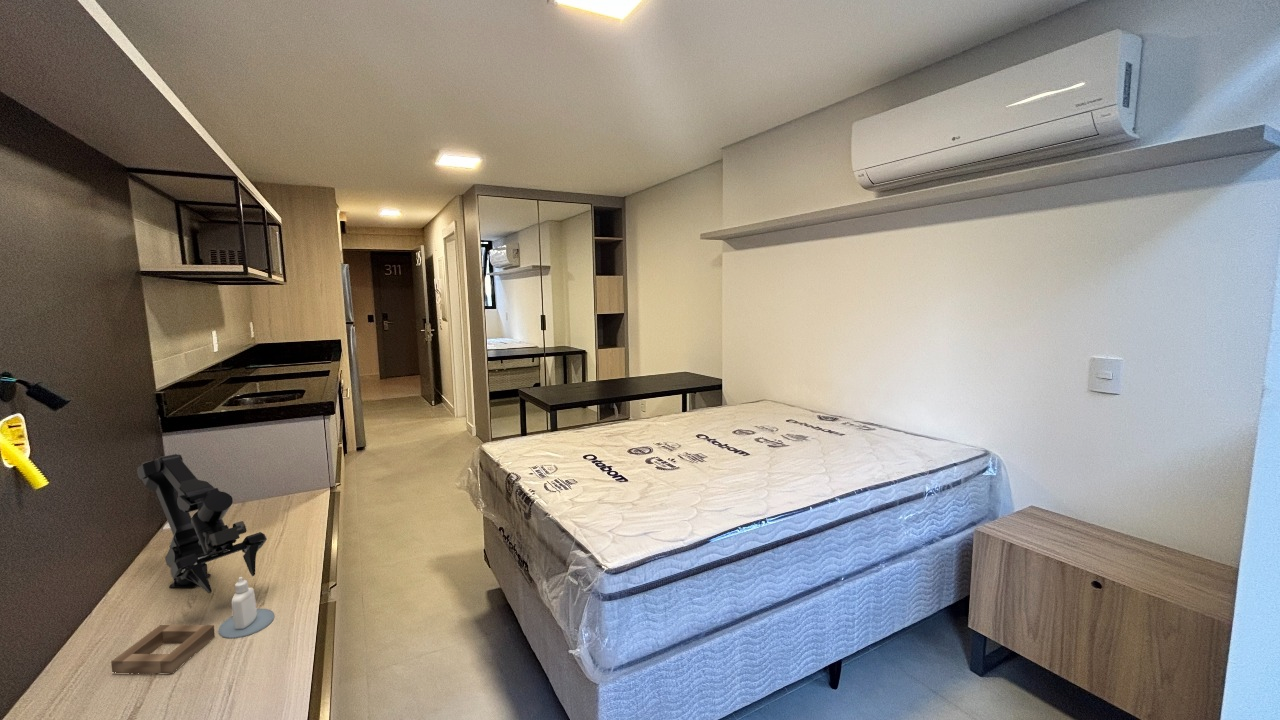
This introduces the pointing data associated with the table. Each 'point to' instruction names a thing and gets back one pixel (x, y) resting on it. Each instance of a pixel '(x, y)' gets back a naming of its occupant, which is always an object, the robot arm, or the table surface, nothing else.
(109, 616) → the table surface
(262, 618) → the slate-blue rubber mat
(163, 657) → the walnut socket block
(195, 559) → the robot arm
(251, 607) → the eye dropper bottle
